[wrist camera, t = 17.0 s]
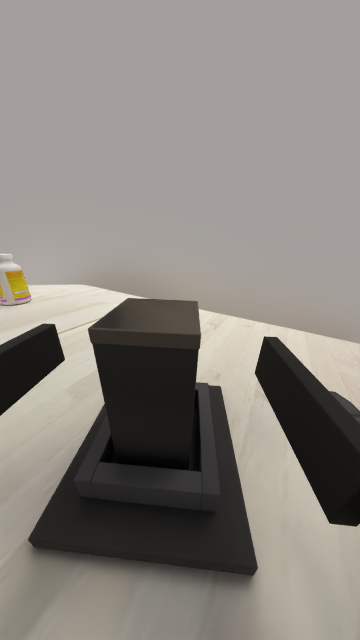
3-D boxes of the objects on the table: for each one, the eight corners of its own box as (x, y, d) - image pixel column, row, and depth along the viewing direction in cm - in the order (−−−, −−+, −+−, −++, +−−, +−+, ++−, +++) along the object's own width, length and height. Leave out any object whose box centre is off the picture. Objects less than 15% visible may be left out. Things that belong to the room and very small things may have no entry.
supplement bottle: (35, 298, 52) (21, 253, 47) (26, 304, 46) (9, 254, 41) (7, 300, 50) (-11, 253, 45) (-5, 306, 44) (-28, 254, 39)
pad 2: (254, 576, 9) (267, 554, 7) (32, 547, 9) (12, 523, 8) (219, 392, 20) (222, 372, 18) (119, 385, 20) (116, 364, 19)
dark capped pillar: (188, 475, 12) (201, 334, 7) (116, 468, 12) (86, 328, 8) (190, 410, 16) (197, 301, 12) (138, 406, 17) (127, 297, 12)
